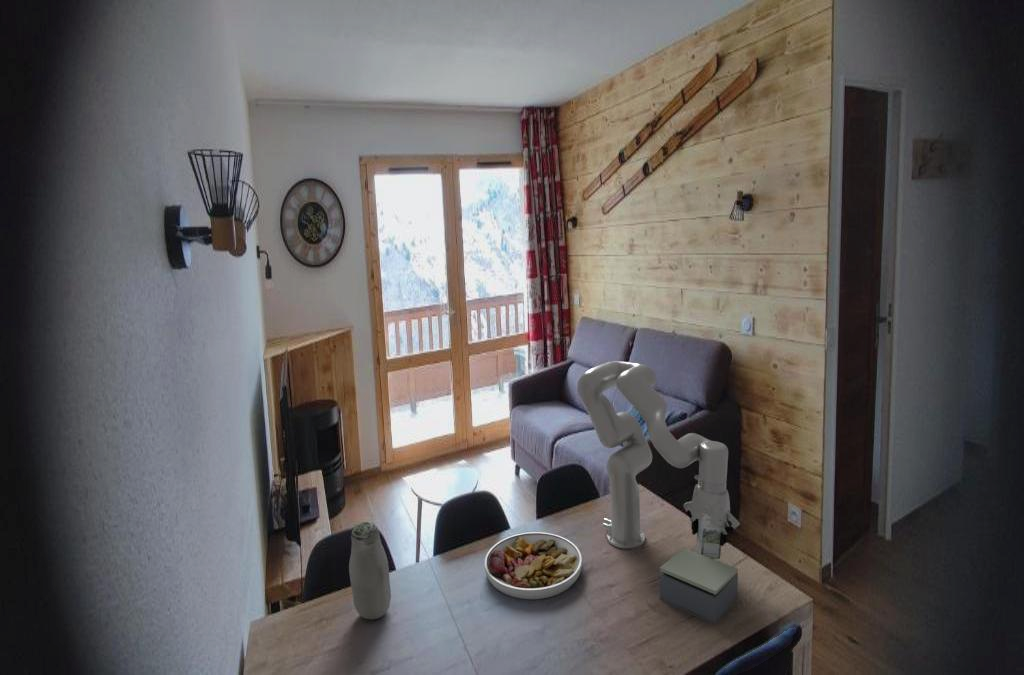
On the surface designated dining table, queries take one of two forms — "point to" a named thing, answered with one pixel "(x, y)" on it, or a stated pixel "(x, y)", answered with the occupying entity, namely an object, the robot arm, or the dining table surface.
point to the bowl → (533, 565)
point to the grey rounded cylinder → (369, 572)
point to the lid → (699, 570)
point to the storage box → (698, 597)
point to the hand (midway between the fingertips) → (709, 537)
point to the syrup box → (708, 538)
